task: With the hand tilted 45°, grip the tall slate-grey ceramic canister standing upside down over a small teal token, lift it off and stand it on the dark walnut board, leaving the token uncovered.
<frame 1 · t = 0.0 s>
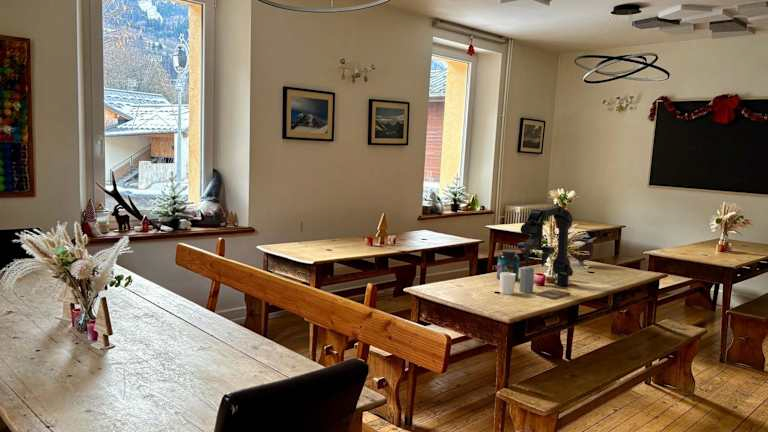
hand: (534, 264, 287), 15 cm above the table, tool pointing down, fingers open, 9 cm apart
container: (507, 279, 319), on the table
teal token: (525, 292, 290), on the table
walnut board: (553, 295, 285), on the table
mate gourd: (581, 266, 365), on the table
canister: (525, 291, 290), on the table
white cup: (506, 293, 285), on the table
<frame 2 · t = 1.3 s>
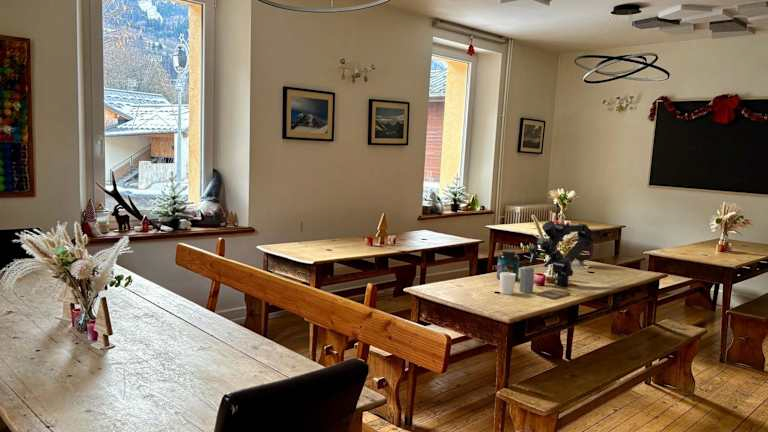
hand: (537, 264, 293), 13 cm above the table, tool tilted 45°, fingers open, 9 cm apart
nothing on the table moved.
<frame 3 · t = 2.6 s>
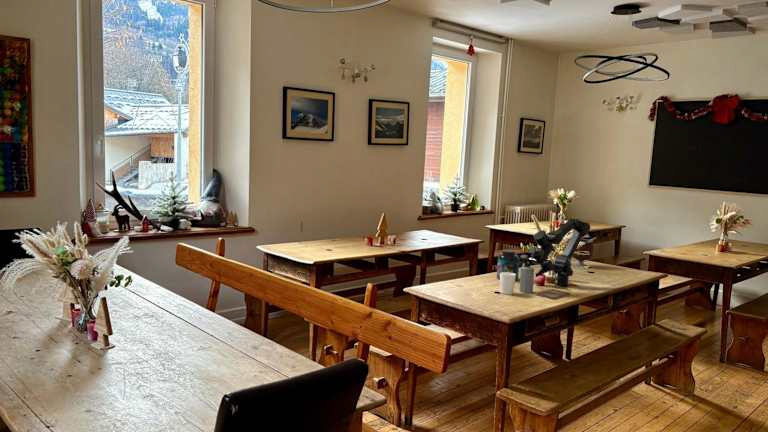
hand: (528, 274, 289), 9 cm above the table, tool tilted 45°, fingers open, 9 cm apart
nothing on the table moved.
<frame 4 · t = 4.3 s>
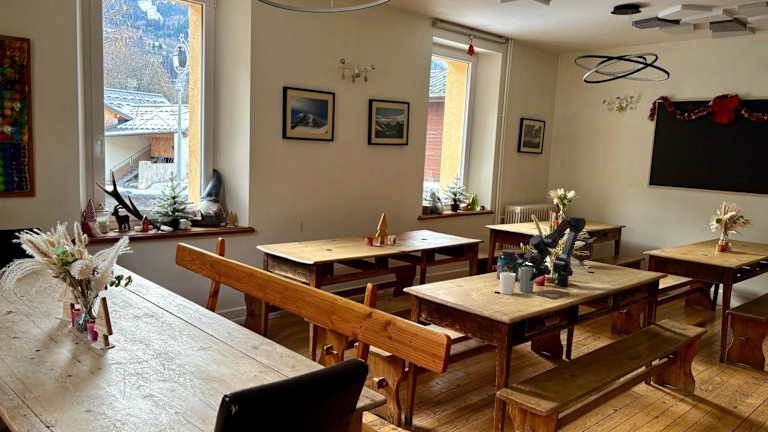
hand: (524, 279, 288), 7 cm above the table, tool tilted 45°, fingers closed on canister, 6 cm apart
canister: (525, 291, 290), on the table, touching gripper
everything else where it was.
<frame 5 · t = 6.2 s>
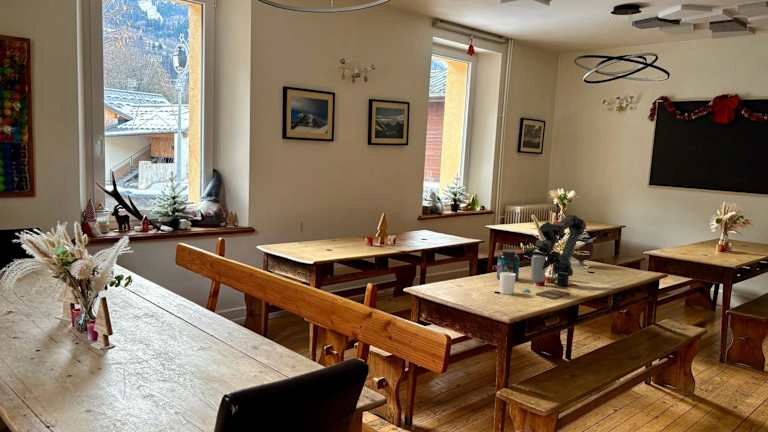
hand: (537, 267, 285), 13 cm above the table, tool tilted 45°, fingers closed on canister, 6 cm apart
canister: (537, 280, 286), point 7 cm above the table, touching gripper
everything else where it was.
when the fingers open (9 cm above the table, at t = 8.5 s): canister drops 1 cm, resting on walnut board.
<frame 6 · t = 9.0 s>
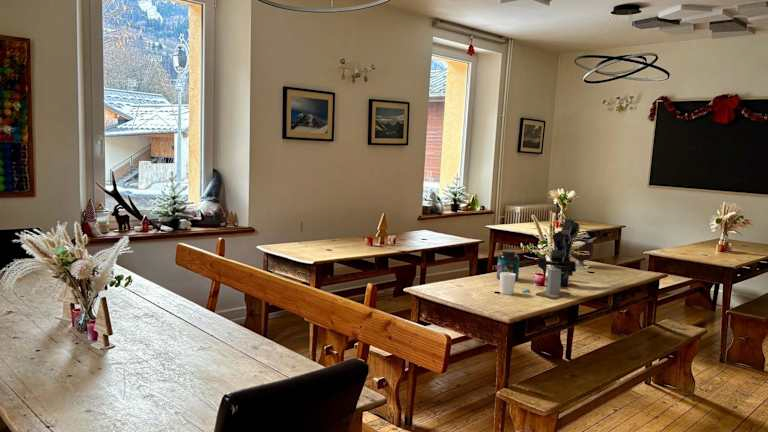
hand: (553, 277, 282), 9 cm above the table, tool tilted 45°, fingers open, 9 cm apart
canister: (553, 293, 285), point 1 cm above the table, touching walnut board
everything else where it was.
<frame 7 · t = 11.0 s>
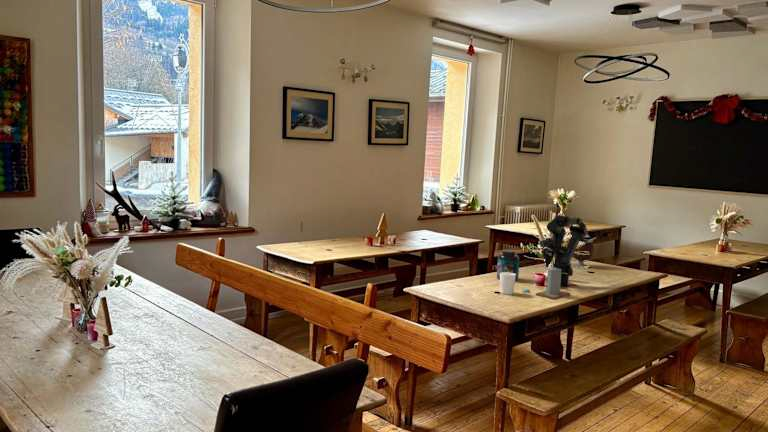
hand: (550, 266, 293), 13 cm above the table, tool tilted 25°, fingers open, 9 cm apart
nothing on the table moved.
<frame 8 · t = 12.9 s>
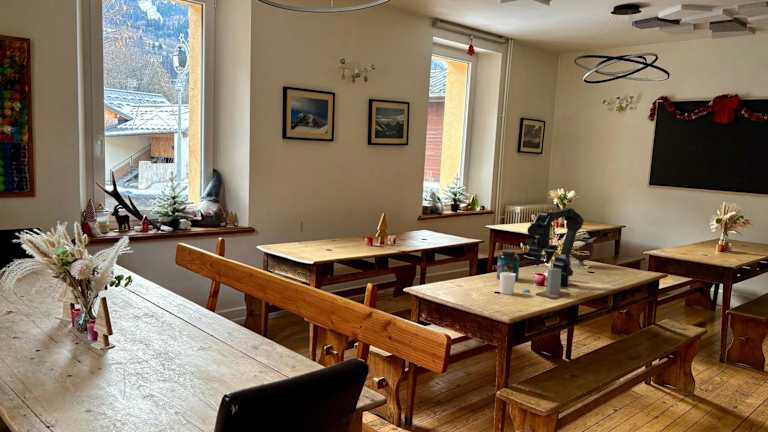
hand: (542, 264, 295), 13 cm above the table, tool pointing down, fingers open, 9 cm apart
nothing on the table moved.
at the end: canister inside the target area on the walnut board (0.0 cm from its centre), point 1.0 cm above the walnut board's base; canister tilted 0°; the gripper is holding nothing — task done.
